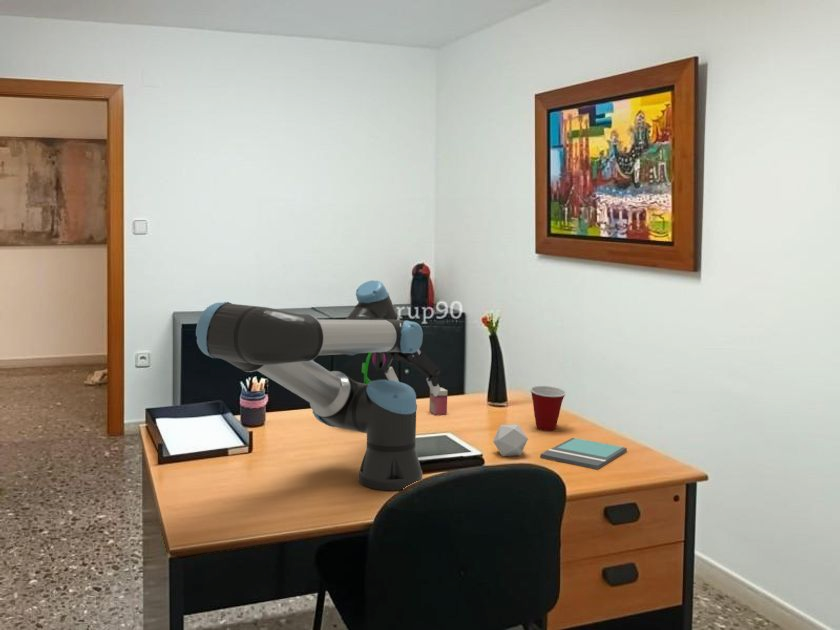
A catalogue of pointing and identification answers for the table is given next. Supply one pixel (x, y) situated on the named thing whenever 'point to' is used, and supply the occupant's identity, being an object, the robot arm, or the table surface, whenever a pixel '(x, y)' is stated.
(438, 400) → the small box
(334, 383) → the robot arm
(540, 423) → the plastic cup
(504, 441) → the die
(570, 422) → the table surface
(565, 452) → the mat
